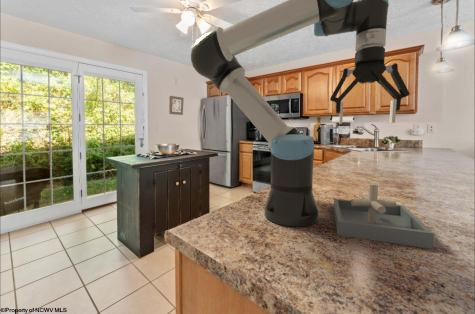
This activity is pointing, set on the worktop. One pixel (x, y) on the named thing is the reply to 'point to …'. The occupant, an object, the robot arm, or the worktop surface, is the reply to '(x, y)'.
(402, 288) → the worktop surface
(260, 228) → the worktop surface
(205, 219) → the worktop surface
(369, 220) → the pipe connector
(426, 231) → the tray
